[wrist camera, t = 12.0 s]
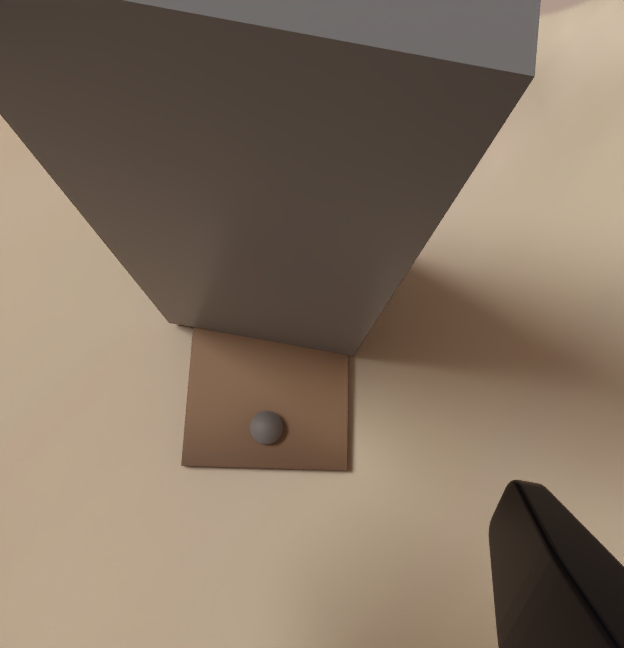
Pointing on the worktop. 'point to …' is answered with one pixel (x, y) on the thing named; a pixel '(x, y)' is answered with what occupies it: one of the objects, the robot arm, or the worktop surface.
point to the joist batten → (264, 404)
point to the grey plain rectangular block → (265, 142)
